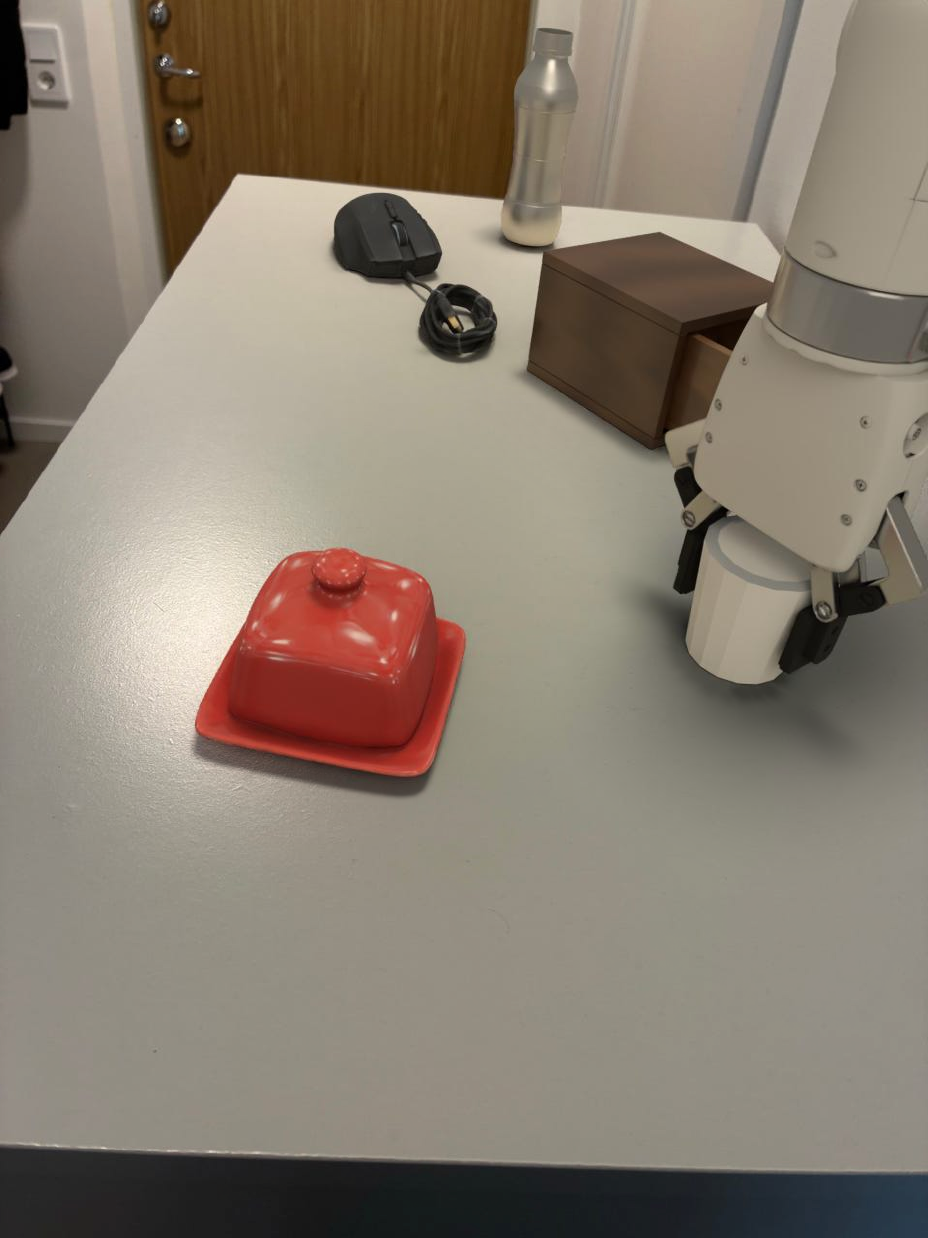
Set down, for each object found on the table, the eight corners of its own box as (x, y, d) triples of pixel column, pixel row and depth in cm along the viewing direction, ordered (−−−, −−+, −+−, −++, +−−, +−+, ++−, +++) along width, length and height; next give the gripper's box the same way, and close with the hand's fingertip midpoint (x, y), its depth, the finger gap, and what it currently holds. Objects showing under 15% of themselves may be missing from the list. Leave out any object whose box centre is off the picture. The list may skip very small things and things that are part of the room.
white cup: (822, 666, 53) (867, 565, 49) (738, 709, 50) (778, 605, 45) (732, 597, 57) (766, 499, 53) (649, 633, 54) (677, 532, 49)
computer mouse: (398, 230, 103) (400, 176, 100) (530, 355, 81) (539, 292, 78) (313, 234, 100) (313, 179, 96) (428, 366, 78) (432, 300, 74)
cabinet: (762, 413, 77) (800, 294, 71) (650, 449, 71) (682, 322, 64) (635, 342, 86) (659, 231, 79) (526, 369, 79) (543, 250, 73)
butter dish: (427, 801, 43) (441, 663, 38) (184, 753, 44) (164, 611, 39) (470, 641, 52) (486, 510, 47) (267, 603, 53) (259, 471, 47)
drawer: (892, 476, 69) (937, 375, 64) (791, 519, 63) (832, 411, 58) (711, 376, 79) (736, 282, 74) (609, 405, 73) (630, 305, 68)
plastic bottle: (532, 257, 100) (562, 39, 88) (485, 239, 104) (506, 26, 91) (569, 246, 104) (603, 35, 92) (522, 228, 108) (548, 23, 95)
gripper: (1098, 370, 38) (921, 692, 49) (760, 231, 48) (678, 524, 59) (999, 411, 34) (832, 750, 45) (655, 250, 44) (589, 560, 55)
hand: (745, 620), depth 52 cm, fingers closed on white cup, 6 cm apart
